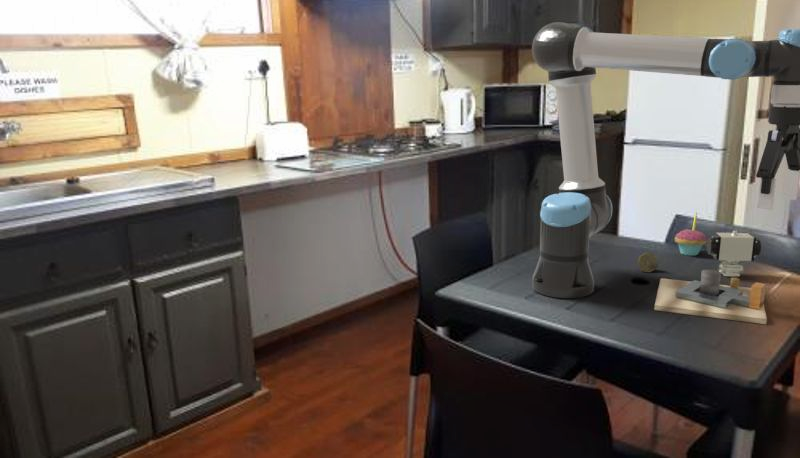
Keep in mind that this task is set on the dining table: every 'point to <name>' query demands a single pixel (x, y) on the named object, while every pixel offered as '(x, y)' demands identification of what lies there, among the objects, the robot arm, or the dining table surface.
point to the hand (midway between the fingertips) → (777, 203)
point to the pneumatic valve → (733, 251)
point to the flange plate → (724, 295)
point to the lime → (647, 262)
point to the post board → (709, 287)
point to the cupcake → (690, 240)
